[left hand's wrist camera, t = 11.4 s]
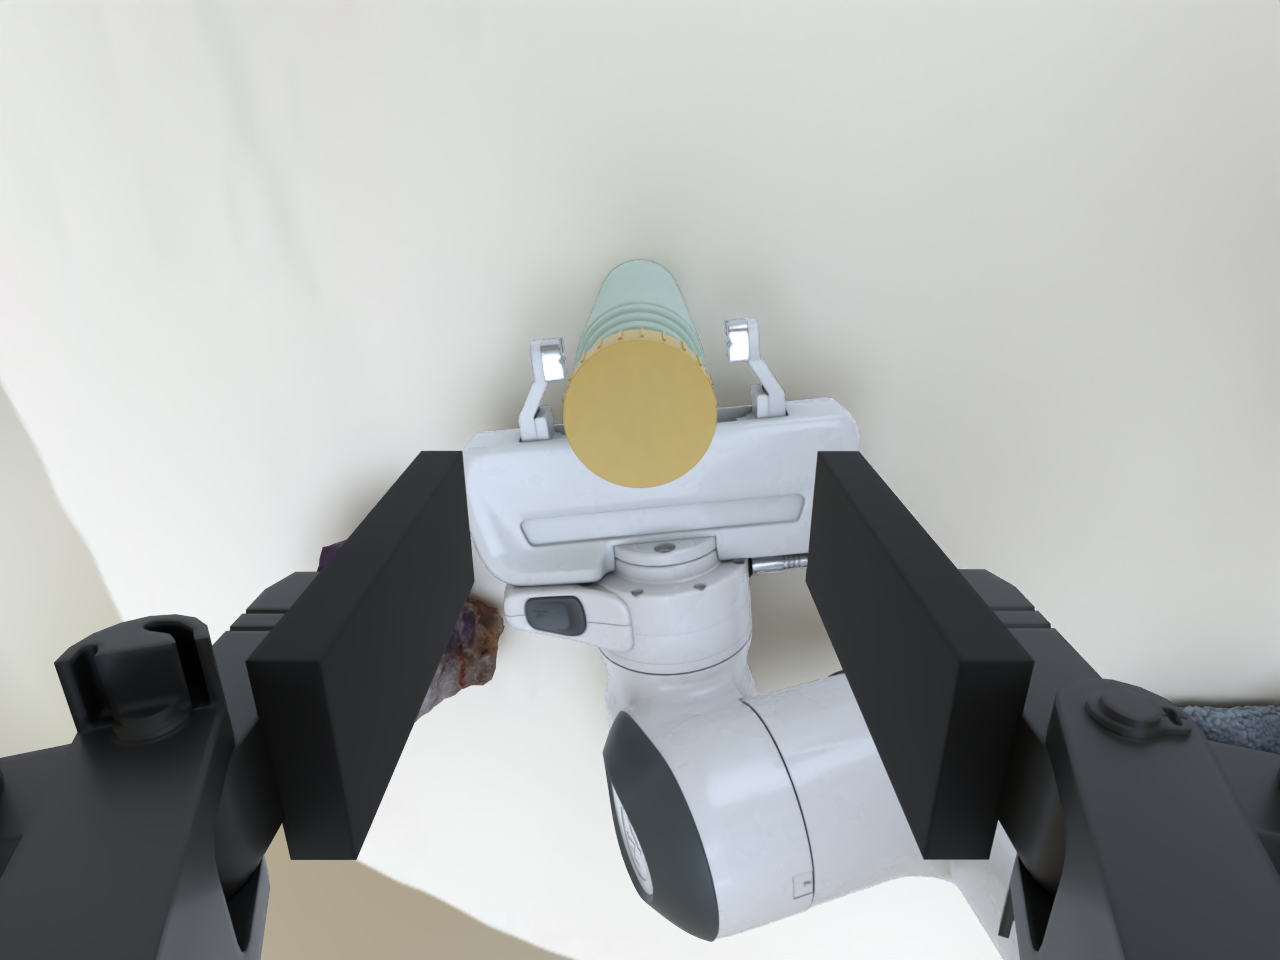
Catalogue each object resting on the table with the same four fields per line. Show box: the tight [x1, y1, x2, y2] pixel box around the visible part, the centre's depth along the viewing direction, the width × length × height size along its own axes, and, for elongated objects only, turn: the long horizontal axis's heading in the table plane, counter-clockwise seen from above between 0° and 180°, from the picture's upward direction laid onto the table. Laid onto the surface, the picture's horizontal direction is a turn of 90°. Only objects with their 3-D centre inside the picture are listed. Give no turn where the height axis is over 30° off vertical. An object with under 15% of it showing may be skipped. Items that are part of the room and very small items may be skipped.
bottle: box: [576, 260, 705, 366], centre depth 31 cm, size 5×5×22 cm
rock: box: [317, 540, 504, 722], centre depth 44 cm, size 12×9×10 cm
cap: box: [563, 328, 718, 488], centre depth 21 cm, size 4×4×2 cm
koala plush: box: [1179, 705, 1280, 754], centre depth 44 cm, size 17×18×20 cm
